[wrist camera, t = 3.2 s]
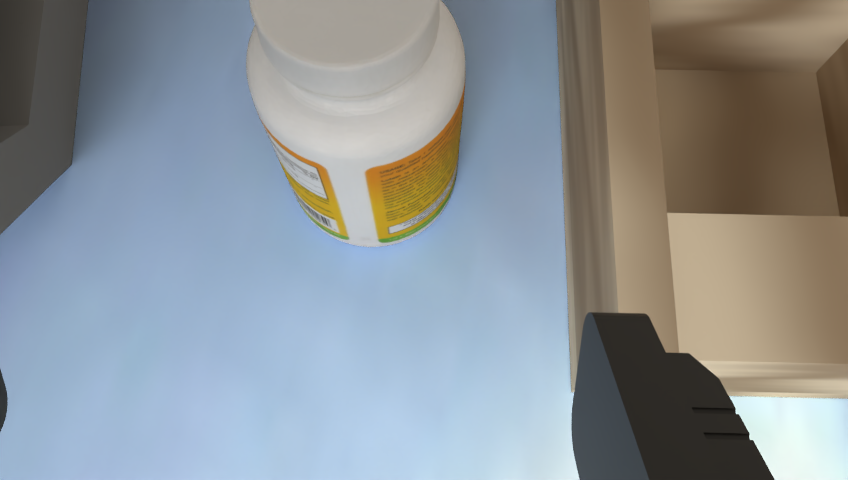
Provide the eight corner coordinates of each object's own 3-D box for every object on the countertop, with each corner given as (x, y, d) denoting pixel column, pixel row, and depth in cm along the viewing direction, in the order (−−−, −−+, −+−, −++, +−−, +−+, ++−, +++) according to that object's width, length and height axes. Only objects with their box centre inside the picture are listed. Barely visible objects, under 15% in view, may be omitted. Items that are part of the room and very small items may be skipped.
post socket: (571, 391, 22) (621, 359, 16) (556, -3, 27) (590, -136, 21) (894, 400, 22) (1056, 368, 16) (824, 2, 27) (932, -130, 21)
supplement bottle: (462, 108, 25) (484, -111, 16) (449, 258, 24) (463, 110, 14) (306, 94, 25) (237, -130, 16) (281, 242, 24) (189, 86, 15)
